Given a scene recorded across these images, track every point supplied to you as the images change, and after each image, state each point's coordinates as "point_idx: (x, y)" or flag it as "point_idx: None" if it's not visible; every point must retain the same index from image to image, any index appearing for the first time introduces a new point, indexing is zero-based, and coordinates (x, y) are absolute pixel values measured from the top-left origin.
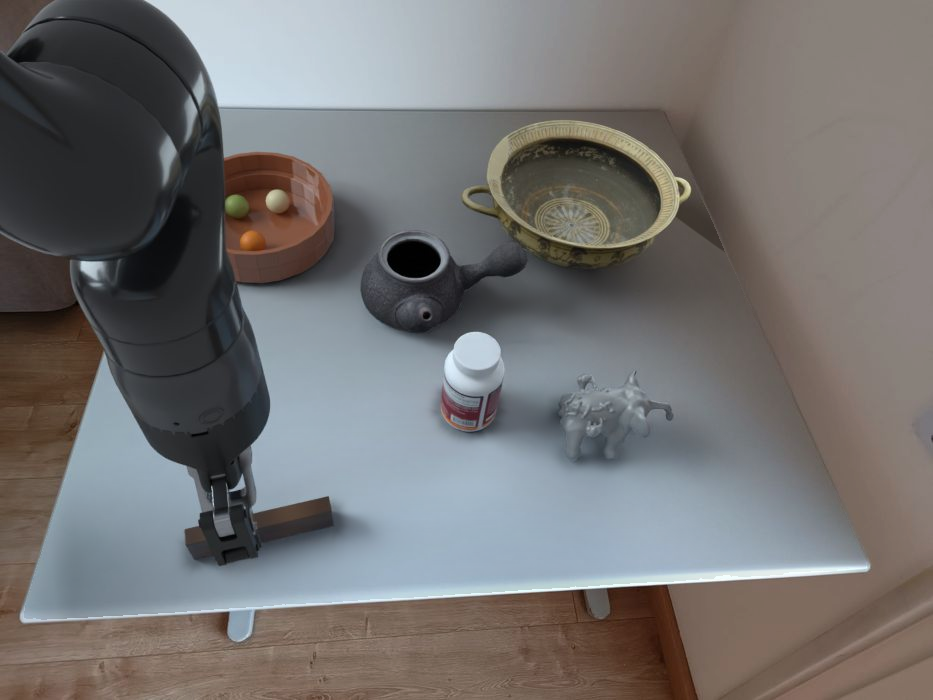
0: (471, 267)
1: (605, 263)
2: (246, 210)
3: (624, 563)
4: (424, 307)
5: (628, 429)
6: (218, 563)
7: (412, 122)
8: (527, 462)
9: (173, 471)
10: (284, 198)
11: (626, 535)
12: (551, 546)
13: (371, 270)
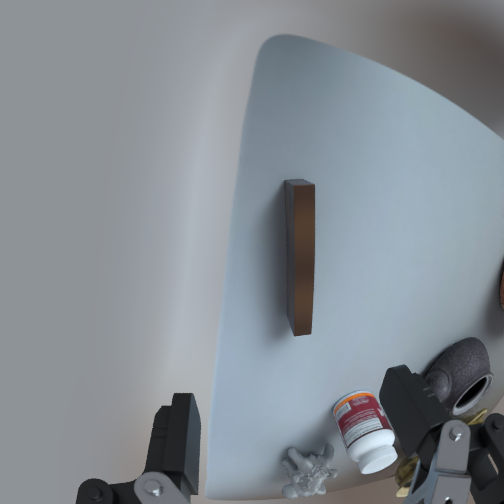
0: None
1: (399, 471)
2: None
3: (214, 454)
4: None
5: (291, 483)
6: (77, 498)
7: None
8: (297, 430)
9: (386, 165)
10: None
11: (231, 458)
12: (232, 434)
13: (481, 360)
